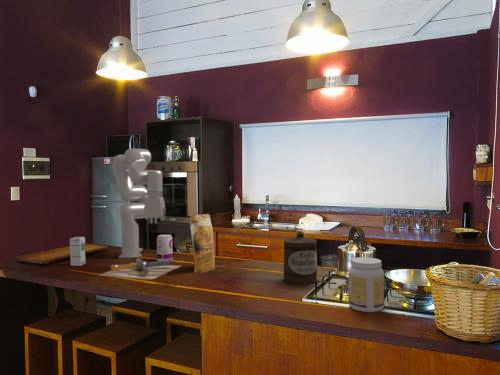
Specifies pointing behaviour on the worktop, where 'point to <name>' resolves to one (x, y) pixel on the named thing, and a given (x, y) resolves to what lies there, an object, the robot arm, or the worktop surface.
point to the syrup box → (77, 251)
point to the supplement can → (164, 248)
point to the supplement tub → (366, 284)
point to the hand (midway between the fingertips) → (155, 231)
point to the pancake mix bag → (202, 243)
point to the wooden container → (300, 259)
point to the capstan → (140, 265)
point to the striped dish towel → (141, 272)
